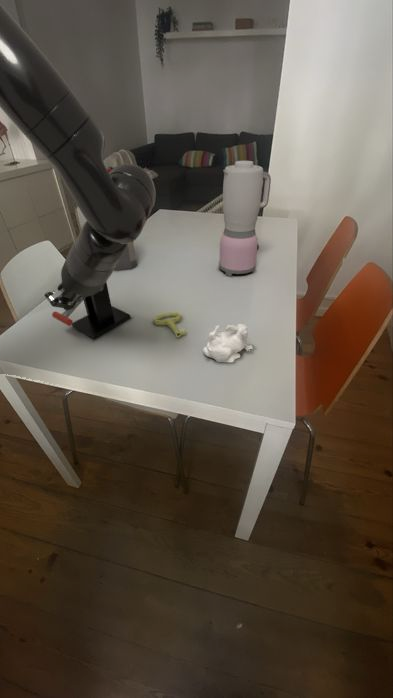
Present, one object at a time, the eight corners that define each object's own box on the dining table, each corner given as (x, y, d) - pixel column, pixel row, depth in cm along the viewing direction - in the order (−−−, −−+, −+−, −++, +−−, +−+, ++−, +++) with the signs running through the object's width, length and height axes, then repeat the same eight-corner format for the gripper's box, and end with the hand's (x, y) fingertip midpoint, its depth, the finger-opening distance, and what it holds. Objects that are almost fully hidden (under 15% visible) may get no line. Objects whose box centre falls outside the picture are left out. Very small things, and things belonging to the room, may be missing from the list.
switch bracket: (94, 339, 78) (81, 292, 70) (72, 327, 82) (58, 282, 74) (130, 318, 85) (123, 273, 77) (109, 308, 90) (99, 265, 82)
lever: (70, 328, 73) (64, 322, 71) (55, 319, 76) (49, 313, 74) (107, 287, 77) (102, 280, 75) (91, 280, 80) (86, 274, 78)
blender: (228, 280, 102) (234, 167, 83) (212, 266, 111) (214, 160, 91) (270, 271, 107) (285, 162, 87) (251, 258, 116) (261, 157, 96)
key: (178, 342, 76) (177, 334, 75) (150, 321, 84) (149, 314, 83) (201, 331, 80) (201, 324, 79) (172, 312, 88) (172, 305, 86)
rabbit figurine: (252, 346, 75) (256, 310, 69) (259, 367, 69) (265, 330, 63) (201, 348, 74) (201, 313, 68) (204, 370, 68) (204, 333, 62)
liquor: (135, 259, 117) (122, 166, 99) (137, 269, 110) (123, 171, 92) (110, 261, 116) (92, 168, 97) (110, 272, 109) (91, 173, 90)
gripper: (106, 237, 59) (82, 280, 72) (41, 259, 51) (27, 304, 64) (130, 271, 59) (101, 307, 73) (69, 298, 51) (49, 334, 65)
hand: (66, 306), depth 69 cm, fingers closed
